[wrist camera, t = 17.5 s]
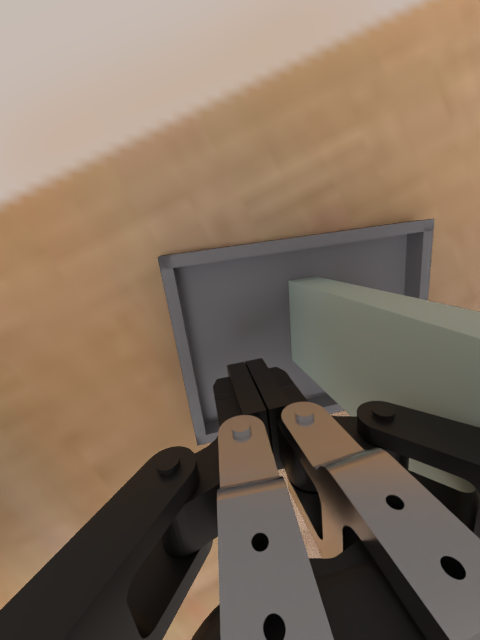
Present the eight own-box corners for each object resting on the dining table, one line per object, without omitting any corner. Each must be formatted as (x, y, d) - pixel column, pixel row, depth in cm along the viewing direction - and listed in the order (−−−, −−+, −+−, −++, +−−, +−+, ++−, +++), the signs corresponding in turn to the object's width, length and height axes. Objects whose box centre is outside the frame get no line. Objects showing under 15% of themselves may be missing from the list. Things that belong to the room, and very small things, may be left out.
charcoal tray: (196, 428, 18) (197, 445, 16) (160, 255, 14) (157, 257, 13) (402, 380, 20) (420, 392, 18) (411, 221, 16) (434, 218, 15)
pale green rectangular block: (291, 360, 17) (478, 538, 7) (288, 280, 16) (519, 350, 5) (318, 354, 17) (533, 516, 7) (316, 276, 16) (586, 334, 6)
